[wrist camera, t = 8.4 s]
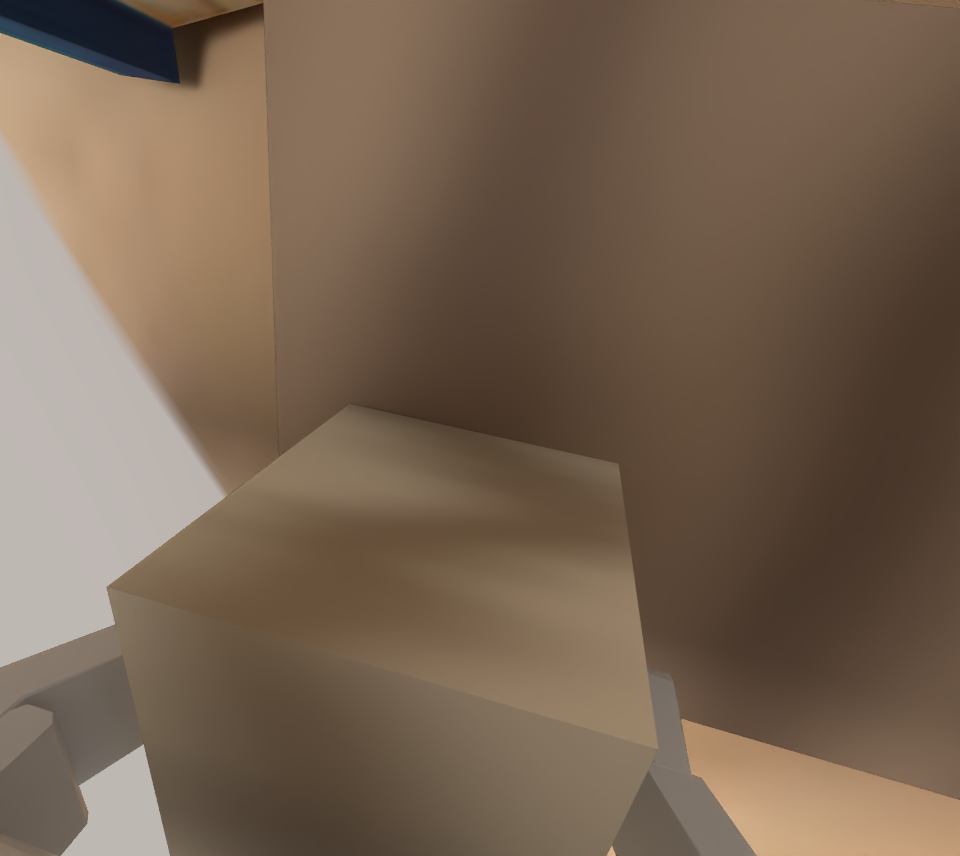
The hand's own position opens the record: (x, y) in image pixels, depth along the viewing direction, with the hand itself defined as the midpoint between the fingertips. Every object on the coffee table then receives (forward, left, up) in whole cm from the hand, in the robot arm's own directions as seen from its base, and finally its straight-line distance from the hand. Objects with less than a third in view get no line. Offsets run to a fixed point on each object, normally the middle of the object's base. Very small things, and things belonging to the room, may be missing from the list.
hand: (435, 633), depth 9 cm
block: (0, 0, -4) cm, 4 cm away
